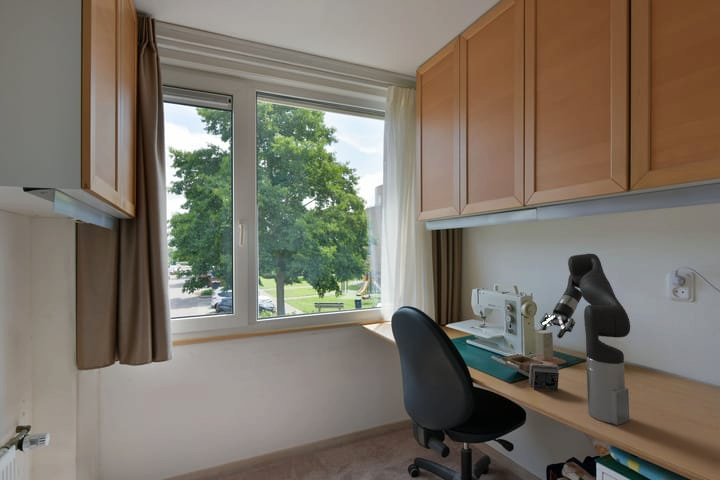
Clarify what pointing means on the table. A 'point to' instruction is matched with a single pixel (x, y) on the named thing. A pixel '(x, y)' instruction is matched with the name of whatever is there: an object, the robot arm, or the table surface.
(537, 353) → the skincare box
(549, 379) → the electrical switch
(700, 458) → the table surface
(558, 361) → the terracotta mat
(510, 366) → the light switch
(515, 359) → the frame
